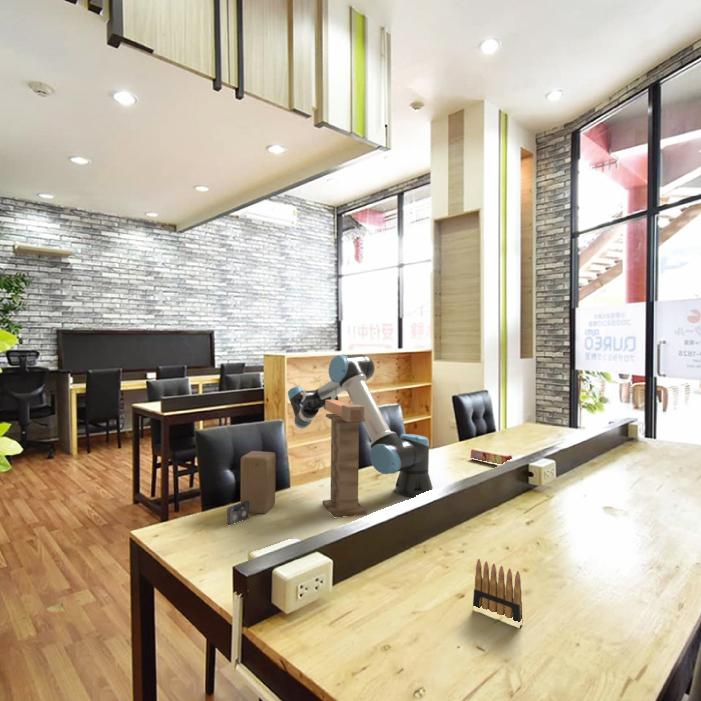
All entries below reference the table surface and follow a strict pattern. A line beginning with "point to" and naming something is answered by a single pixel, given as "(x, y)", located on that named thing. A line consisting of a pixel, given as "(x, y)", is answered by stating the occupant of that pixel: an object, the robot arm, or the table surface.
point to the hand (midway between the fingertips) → (320, 392)
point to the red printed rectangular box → (490, 456)
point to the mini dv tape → (238, 512)
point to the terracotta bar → (345, 410)
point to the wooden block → (258, 481)
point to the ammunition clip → (498, 592)
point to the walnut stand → (344, 468)
